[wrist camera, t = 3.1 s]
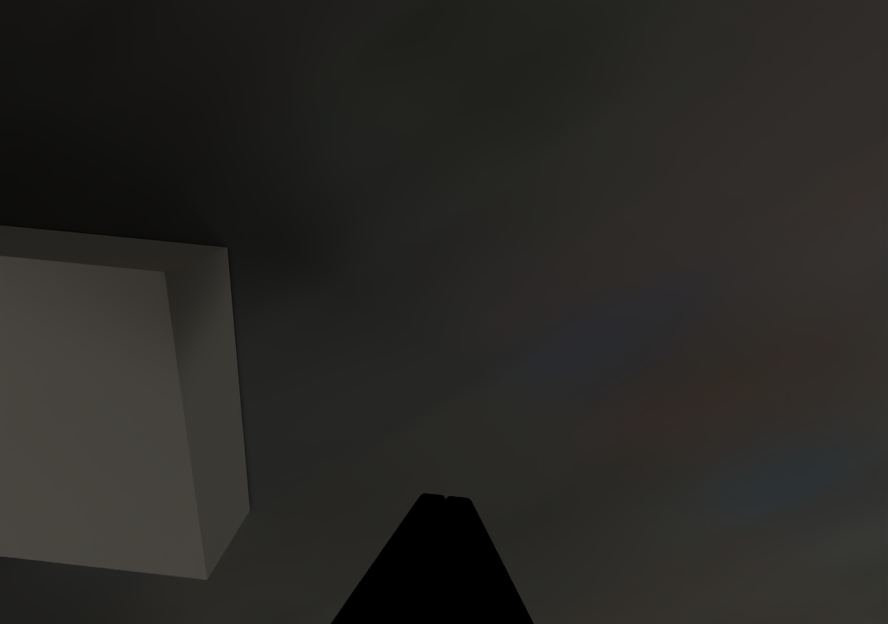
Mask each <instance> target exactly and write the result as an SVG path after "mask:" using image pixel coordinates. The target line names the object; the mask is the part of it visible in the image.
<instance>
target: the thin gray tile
mask: <svg viewBox="0 0 888 624" xmlns="http://www.w3.org/2000/svg"><path fill="white" fill-rule="evenodd" d="M249 511H250V507H249V495H248V484H247V472H246V460H245V449H244V437H243V425H242V414H241V402H240V390H239V379H238V367H237V355H236V344H235V332H234V320H233V309H232V297H231V285H230V274H229V262H228V250H227V247H218V246H208V245H197V244H187V243H177V242H167V241H156V240H146V239H136V238H126V237H115V236H105V235H95V234H85V233H74V232H64V231H54V230H44V229H33V228H23V227H13V226H3V225H0V556H3V557H12V558H21V559H30V560H38V561H47V562H56V563H64V564H73V565H82V566H91V567H99V568H108V569H117V570H125V571H134V572H143V573H152V574H160V575H169V576H178V577H187V578H195V579H204V580H207V579H208V577H209V576H210V574H211V573H212V571H213V569H214V568H215V566H216V564H217V563H218V561H219V560H220V558H221V556H222V555H223V553H224V551H225V550H226V548H227V547H228V545H229V543H230V542H231V540H232V538H233V537H234V535H235V534H236V532H237V530H238V529H239V527H240V525H241V524H242V522H243V520H244V519H245V517H246V516H247V514H248V512H249Z"/></svg>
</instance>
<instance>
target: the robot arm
mask: <svg viewBox="0 0 888 624" xmlns="http://www.w3.org/2000/svg"><path fill="white" fill-rule="evenodd" d="M434 621H435V622H434ZM331 624H534V623H533V621H532V619H531V617H530V615H529V613H528V611H527V610H526V608H525V606H524V604H523V602H522V600H521V598H520V596H519V594H518V592H517V590H516V588H515V586H514V584H513V582H512V580H511V578H510V576H509V574H508V572H507V570H506V568H505V566H504V564H503V562H502V560H501V558H500V556H499V554H498V552H497V550H496V548H495V546H494V544H493V542H492V540H491V538H490V536H489V534H488V532H487V530H486V528H485V526H484V525H483V523H482V521H481V519H480V517H479V515H478V513H477V511H476V509H475V507H474V505H473V503H472V501H471V500H470V499H469V498H464V497H455V496H449V497H447V498H446V502H445V497H444V496H443V495H437V494H428V493H424V494H422V495H421V496H420V497H419V498H418V499H417V501H416V502H415V504H414V505H413V507H412V508H411V509H410V511H409V512H408V514H407V515H406V517H405V518H404V519H403V521H402V522H401V524H400V525H399V527H398V528H397V529H396V531H395V532H394V534H393V535H392V537H391V538H390V539H389V541H388V542H387V544H386V545H385V547H384V548H383V549H382V551H381V552H380V554H379V555H378V557H377V558H376V559H375V561H374V562H373V564H372V565H371V567H370V568H369V569H368V571H367V572H366V574H365V575H364V577H363V578H362V579H361V581H360V582H359V584H358V585H357V587H356V588H355V589H354V591H353V592H352V594H351V595H350V597H349V598H348V599H347V601H346V602H345V604H344V605H343V607H342V608H341V610H340V611H339V612H338V614H337V615H336V617H335V618H334V620H333V621H332V622H331Z"/></svg>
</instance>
